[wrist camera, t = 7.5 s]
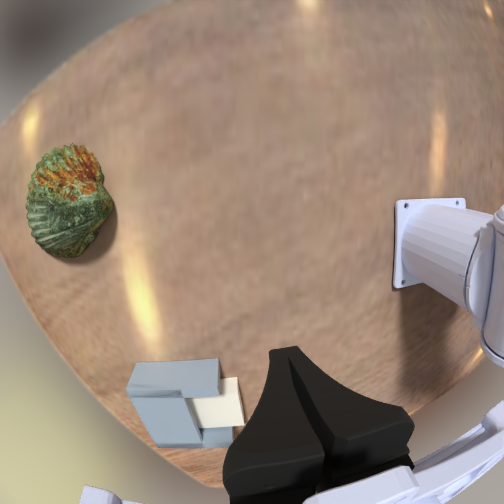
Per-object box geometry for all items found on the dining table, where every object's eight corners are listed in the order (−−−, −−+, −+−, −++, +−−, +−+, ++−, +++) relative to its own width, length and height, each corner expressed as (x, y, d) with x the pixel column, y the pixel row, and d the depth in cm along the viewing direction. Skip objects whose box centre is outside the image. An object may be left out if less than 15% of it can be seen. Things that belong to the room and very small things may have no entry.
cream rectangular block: (236, 374, 24) (237, 393, 22) (243, 407, 26) (244, 425, 23) (157, 379, 24) (152, 396, 22) (171, 411, 25) (167, 428, 23)
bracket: (218, 358, 23) (217, 387, 19) (232, 419, 26) (233, 446, 22) (137, 362, 23) (125, 389, 19) (163, 421, 25) (157, 447, 21)
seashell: (7, 141, 13) (103, 149, 14) (36, 140, 17) (126, 149, 18) (4, 258, 16) (91, 288, 18) (29, 243, 20) (111, 267, 21)
